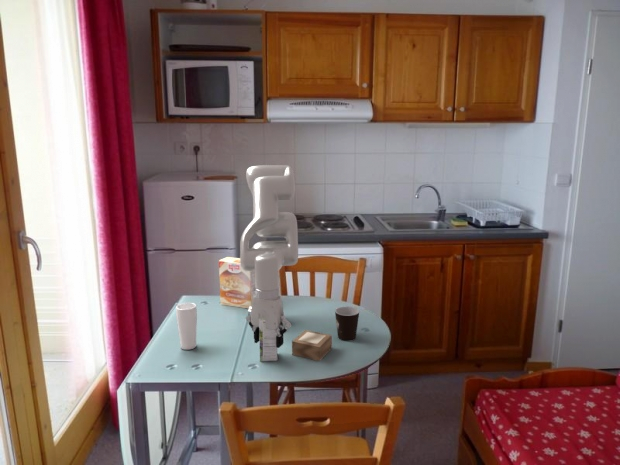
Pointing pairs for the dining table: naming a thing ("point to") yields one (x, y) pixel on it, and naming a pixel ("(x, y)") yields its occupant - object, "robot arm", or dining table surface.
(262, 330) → the syrup box
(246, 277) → the coffeecake box
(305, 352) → the pedestal
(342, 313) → the coffee mug
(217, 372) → the dining table surface
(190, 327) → the drinking glass
